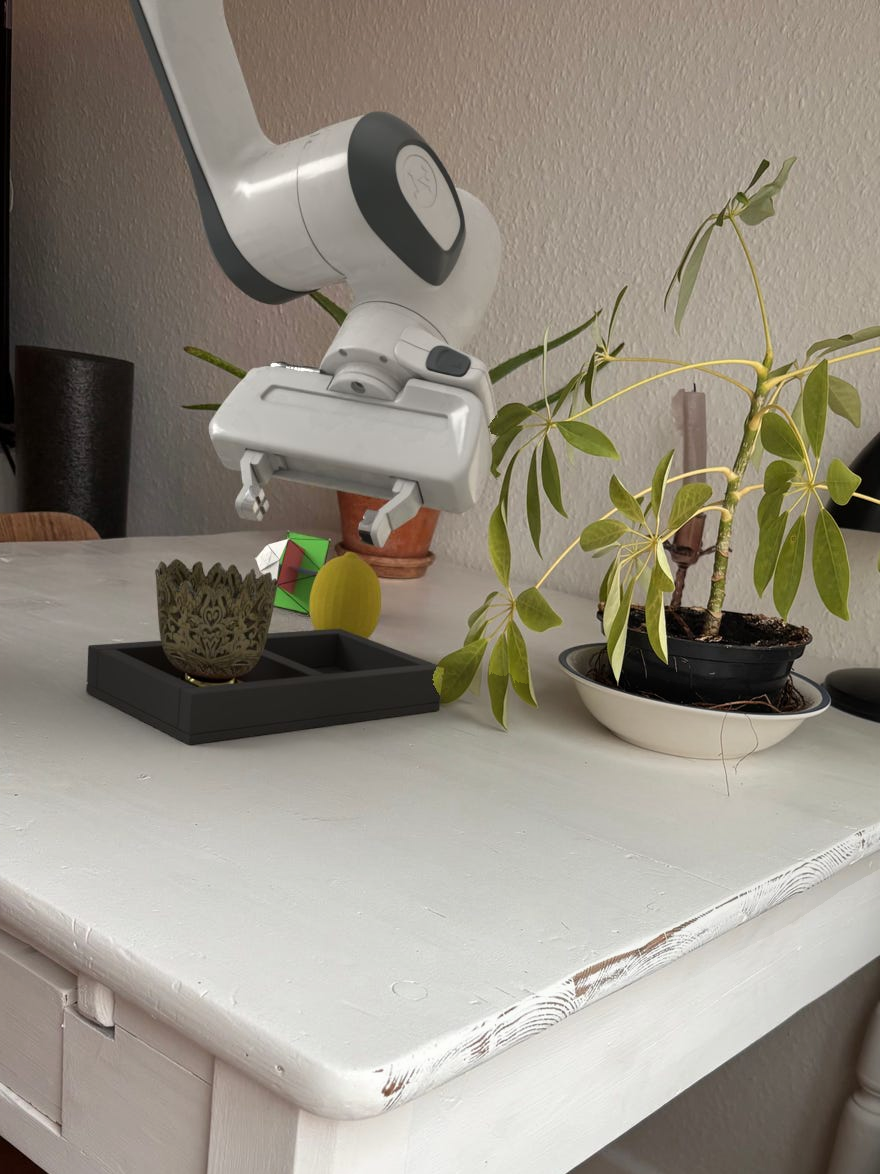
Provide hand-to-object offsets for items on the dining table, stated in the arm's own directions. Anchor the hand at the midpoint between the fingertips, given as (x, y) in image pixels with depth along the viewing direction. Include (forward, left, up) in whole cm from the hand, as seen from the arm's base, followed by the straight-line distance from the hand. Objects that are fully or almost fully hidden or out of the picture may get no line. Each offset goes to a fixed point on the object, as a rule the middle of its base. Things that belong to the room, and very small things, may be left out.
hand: (306, 527), depth 88 cm
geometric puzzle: (-19, +16, -11) cm, 27 cm away
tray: (+4, -5, -11) cm, 12 cm away
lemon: (-5, +9, -11) cm, 15 cm away
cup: (+4, -10, -10) cm, 15 cm away
